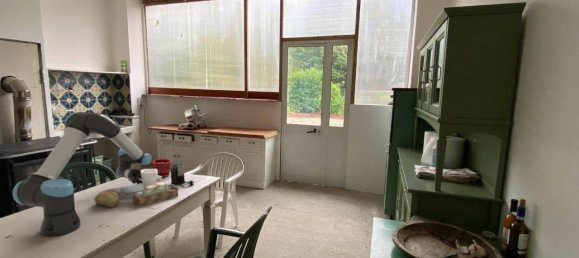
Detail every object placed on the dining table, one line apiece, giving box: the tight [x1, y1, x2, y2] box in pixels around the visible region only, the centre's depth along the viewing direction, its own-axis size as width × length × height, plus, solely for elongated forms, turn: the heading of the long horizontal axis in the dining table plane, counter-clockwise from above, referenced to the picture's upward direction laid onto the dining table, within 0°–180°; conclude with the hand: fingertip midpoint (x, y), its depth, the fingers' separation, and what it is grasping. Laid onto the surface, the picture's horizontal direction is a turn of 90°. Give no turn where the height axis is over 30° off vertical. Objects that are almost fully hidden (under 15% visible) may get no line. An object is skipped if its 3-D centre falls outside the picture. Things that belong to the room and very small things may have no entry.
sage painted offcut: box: [141, 186, 170, 197], centre depth 175 cm, size 14×4×2 cm, turn 138°
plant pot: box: [152, 158, 172, 178], centre depth 220 cm, size 13×13×12 cm
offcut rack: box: [131, 184, 179, 208], centre depth 175 cm, size 24×8×6 cm, turn 138°
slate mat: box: [118, 183, 144, 195], centre depth 193 cm, size 15×15×1 cm
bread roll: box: [94, 190, 120, 208], centre depth 166 cm, size 10×15×8 cm, turn 71°
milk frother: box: [170, 160, 195, 186], centre depth 204 cm, size 14×16×15 cm
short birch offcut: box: [144, 181, 168, 193], centre depth 175 cm, size 12×4×2 cm, turn 138°
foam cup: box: [140, 168, 158, 187], centre depth 181 cm, size 10×9×13 cm
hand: (153, 180), depth 178 cm, fingers closed on foam cup, 9 cm apart
